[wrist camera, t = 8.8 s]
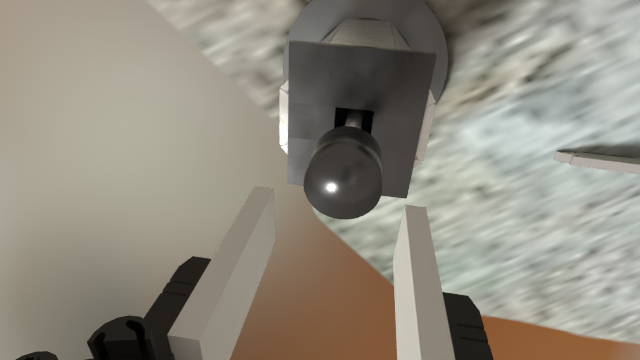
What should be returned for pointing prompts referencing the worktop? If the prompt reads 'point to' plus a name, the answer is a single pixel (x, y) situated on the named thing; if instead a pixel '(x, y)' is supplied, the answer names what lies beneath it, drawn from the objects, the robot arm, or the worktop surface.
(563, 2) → the worktop surface
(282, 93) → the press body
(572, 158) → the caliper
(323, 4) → the trivet
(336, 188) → the plunger
